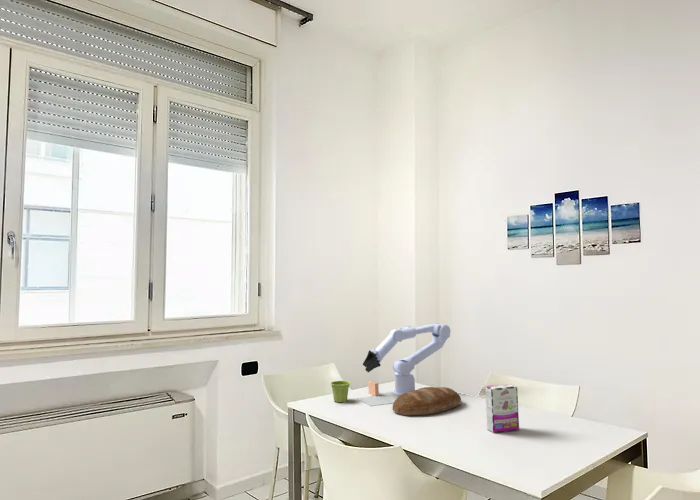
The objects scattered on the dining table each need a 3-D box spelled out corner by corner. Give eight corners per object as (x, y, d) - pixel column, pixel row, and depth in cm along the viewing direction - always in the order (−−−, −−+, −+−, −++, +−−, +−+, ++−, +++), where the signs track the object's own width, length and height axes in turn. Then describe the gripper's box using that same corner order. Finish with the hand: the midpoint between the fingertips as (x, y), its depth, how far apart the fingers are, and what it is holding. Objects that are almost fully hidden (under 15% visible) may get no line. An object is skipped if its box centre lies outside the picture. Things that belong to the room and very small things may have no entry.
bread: (473, 405, 230) (472, 386, 231) (418, 421, 206) (417, 400, 207) (435, 396, 247) (435, 379, 247) (380, 411, 223) (380, 391, 223)
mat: (380, 396, 249) (380, 395, 249) (396, 403, 234) (396, 402, 234) (356, 398, 244) (356, 398, 244) (370, 406, 229) (370, 405, 229)
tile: (371, 393, 255) (371, 381, 255) (378, 395, 247) (378, 383, 248) (368, 393, 254) (368, 381, 254) (375, 396, 247) (374, 383, 247)
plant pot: (354, 400, 241) (354, 381, 242) (343, 404, 233) (343, 385, 234) (337, 398, 246) (337, 380, 247) (326, 402, 238) (326, 383, 239)
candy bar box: (512, 426, 196) (510, 383, 197) (519, 430, 191) (518, 386, 192) (486, 429, 193) (484, 385, 194) (493, 433, 188) (491, 388, 189)
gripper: (380, 348, 261) (362, 368, 257) (376, 337, 249) (357, 358, 245) (390, 357, 257) (372, 377, 253) (386, 346, 245) (367, 367, 241)
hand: (365, 368), depth 249 cm, fingers open, 7 cm apart
